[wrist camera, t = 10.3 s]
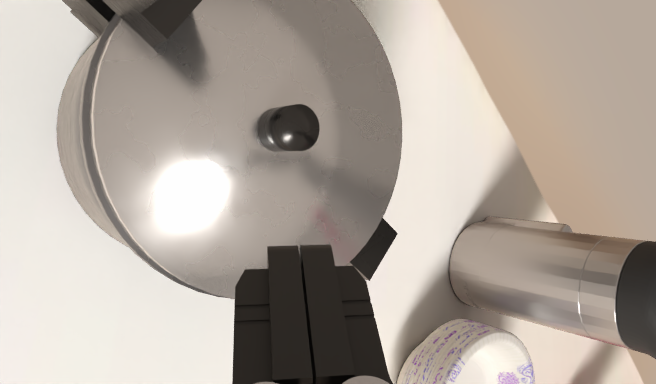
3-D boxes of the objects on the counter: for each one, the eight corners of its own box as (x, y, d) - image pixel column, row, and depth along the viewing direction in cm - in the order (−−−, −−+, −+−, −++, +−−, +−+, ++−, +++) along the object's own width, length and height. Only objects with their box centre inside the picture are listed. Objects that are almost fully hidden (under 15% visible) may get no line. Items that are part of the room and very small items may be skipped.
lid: (431, 119, 38) (505, 113, 33) (286, 355, 32) (351, 392, 27) (37, -382, 23) (63, -537, 18) (-387, -116, 17) (-530, -236, 12)
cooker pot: (361, 153, 49) (455, 152, 40) (239, 337, 43) (318, 384, 34) (31, -212, 33) (64, -353, 24) (-247, -2, 26) (-346, -87, 17)
